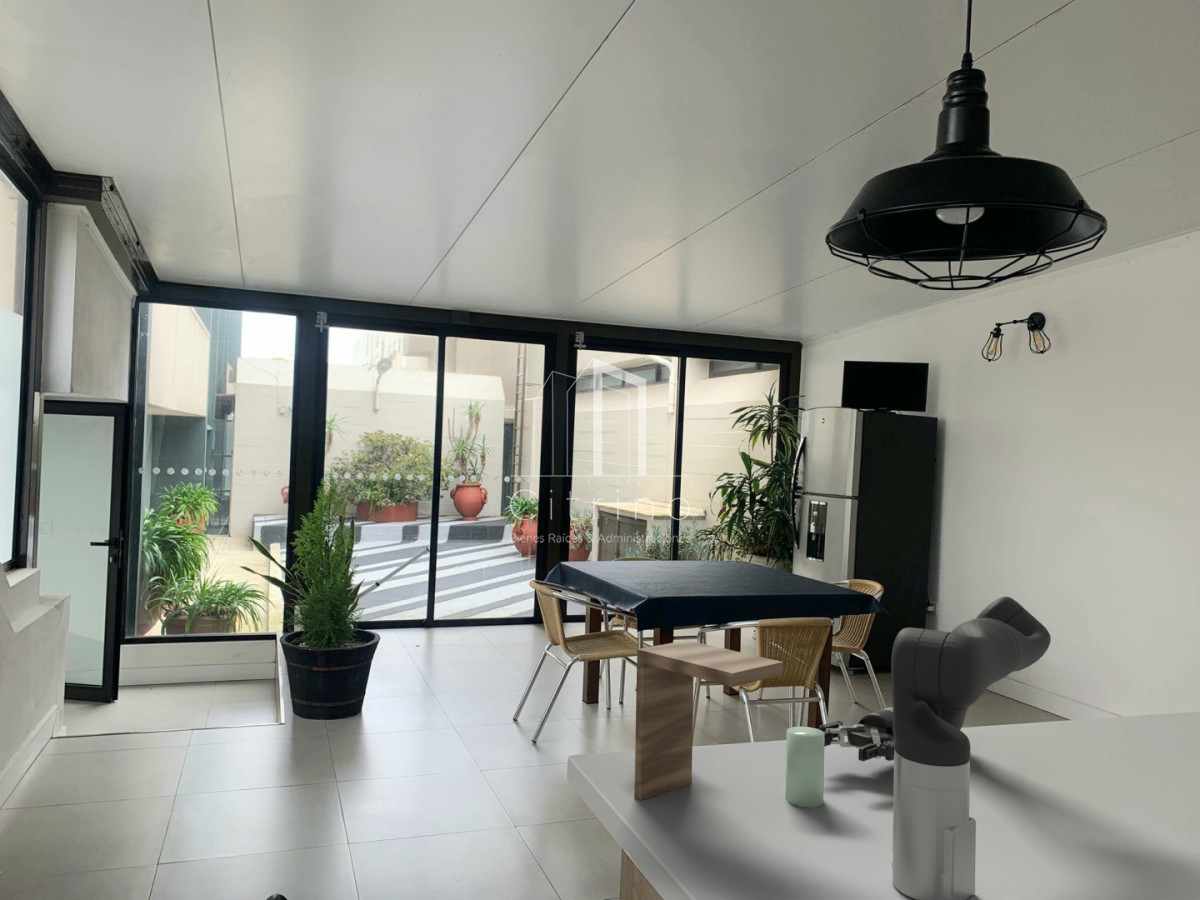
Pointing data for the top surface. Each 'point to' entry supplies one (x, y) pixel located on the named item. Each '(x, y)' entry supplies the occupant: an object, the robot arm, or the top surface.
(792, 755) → the pillar candle
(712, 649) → the overhanging shelf
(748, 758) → the top surface
